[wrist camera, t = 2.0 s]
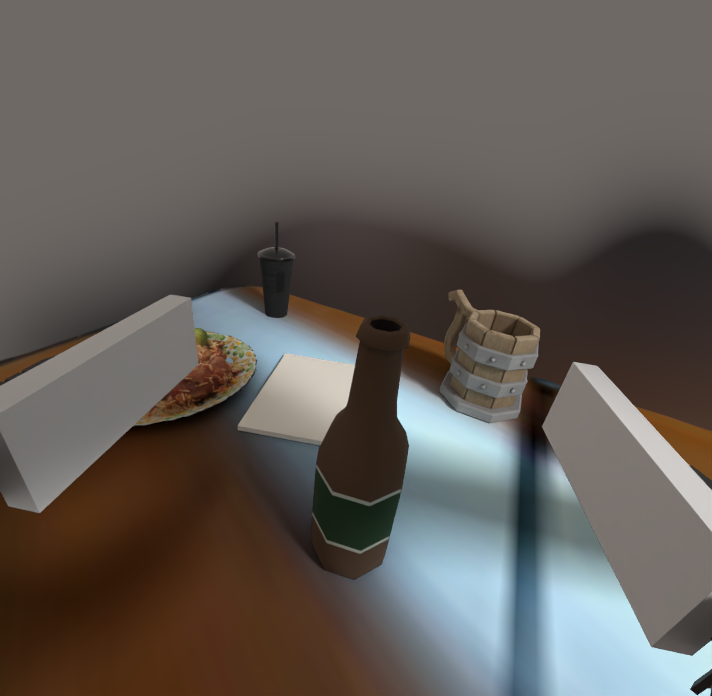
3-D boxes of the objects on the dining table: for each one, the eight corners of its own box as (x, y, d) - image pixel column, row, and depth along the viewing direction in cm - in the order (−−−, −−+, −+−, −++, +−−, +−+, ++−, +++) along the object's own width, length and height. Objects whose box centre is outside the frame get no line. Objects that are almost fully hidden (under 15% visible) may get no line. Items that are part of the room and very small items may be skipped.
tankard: (534, 416, 57) (572, 333, 49) (469, 427, 52) (500, 338, 45) (463, 354, 73) (484, 285, 66) (409, 359, 69) (425, 285, 61)
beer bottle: (293, 545, 34) (302, 319, 22) (343, 494, 40) (371, 294, 28) (356, 603, 30) (407, 367, 19) (402, 538, 36) (462, 326, 24)
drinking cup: (299, 311, 83) (302, 223, 73) (282, 323, 76) (283, 228, 67) (271, 304, 85) (270, 217, 75) (252, 315, 78) (249, 221, 69)
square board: (394, 375, 63) (394, 371, 62) (386, 458, 45) (387, 453, 45) (285, 357, 64) (285, 353, 64) (237, 430, 47) (237, 425, 46)
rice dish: (26, 381, 53) (10, 350, 50) (194, 322, 73) (190, 297, 70) (117, 481, 40) (103, 446, 37) (291, 375, 60) (291, 348, 57)
